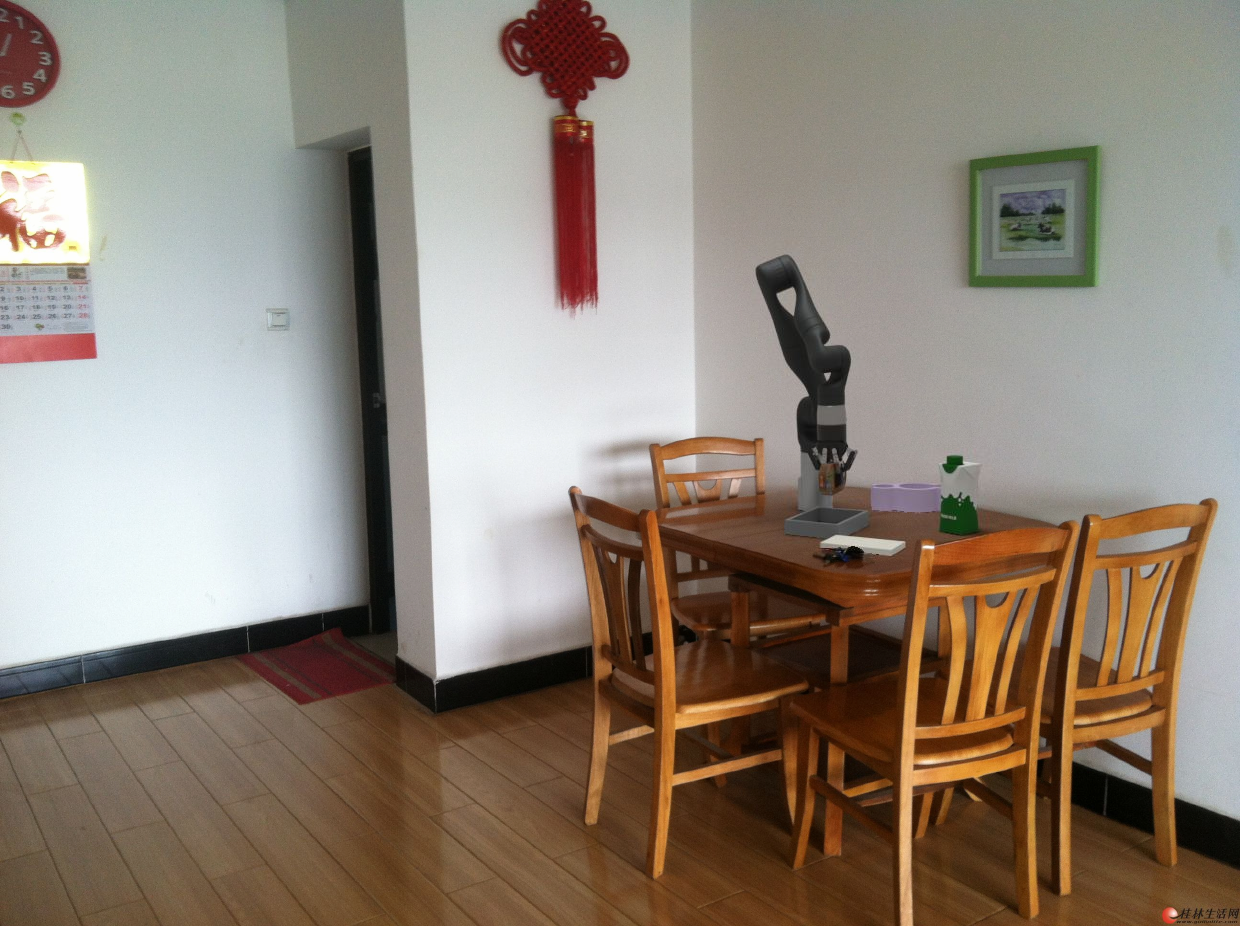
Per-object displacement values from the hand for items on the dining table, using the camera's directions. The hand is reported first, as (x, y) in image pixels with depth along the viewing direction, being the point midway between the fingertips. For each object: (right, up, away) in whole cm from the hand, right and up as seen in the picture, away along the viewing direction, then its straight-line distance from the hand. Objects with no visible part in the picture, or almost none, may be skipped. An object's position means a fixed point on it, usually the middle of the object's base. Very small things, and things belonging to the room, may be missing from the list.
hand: (832, 486), depth 283 cm
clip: (+27, -8, +28) cm, 39 cm away
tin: (0, -2, 0) cm, 2 cm away
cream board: (+3, -15, -20) cm, 25 cm away
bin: (-1, -12, +2) cm, 12 cm away
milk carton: (+32, -12, -5) cm, 34 cm away
